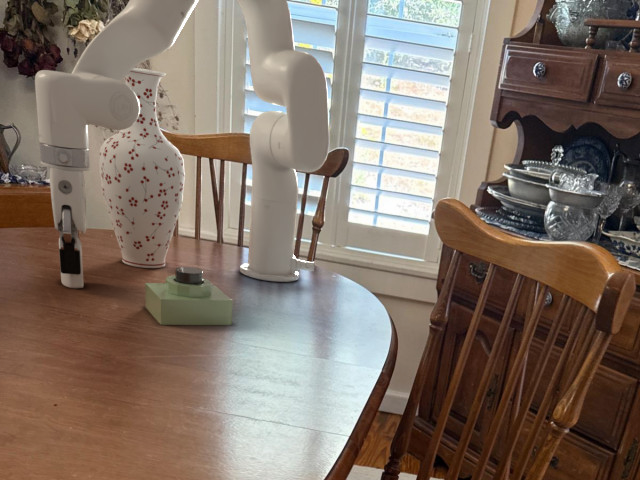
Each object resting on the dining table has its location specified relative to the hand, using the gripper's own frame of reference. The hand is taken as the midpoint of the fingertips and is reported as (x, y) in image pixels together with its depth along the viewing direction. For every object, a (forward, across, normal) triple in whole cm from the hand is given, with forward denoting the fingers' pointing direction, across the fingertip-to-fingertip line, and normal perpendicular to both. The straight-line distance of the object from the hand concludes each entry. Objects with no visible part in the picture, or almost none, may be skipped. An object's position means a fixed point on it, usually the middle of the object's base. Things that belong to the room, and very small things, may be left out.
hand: (71, 268), depth 137 cm
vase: (+3, +22, -13) cm, 26 cm away
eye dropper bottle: (+3, 0, 0) cm, 3 cm away
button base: (+3, -15, -19) cm, 24 cm away
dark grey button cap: (-3, -15, -19) cm, 24 cm away
